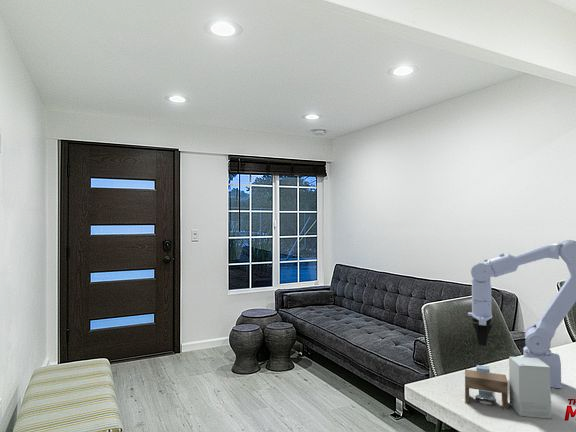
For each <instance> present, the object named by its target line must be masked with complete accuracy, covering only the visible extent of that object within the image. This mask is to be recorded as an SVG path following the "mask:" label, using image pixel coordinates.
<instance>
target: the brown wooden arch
mask: <svg viewBox="0 0 576 432" xmlns="http://www.w3.org/2000/svg"><path fill="white" fill-rule="evenodd" d="M508 386H509V385H508V380H507V375H506V374H503V373H502V374H501V373H496V372H495V373H494V372H490V373H488V372H481V371H477V370H473V369H467V368H465V369H464V399H465V400H464V402H465V403H466V404H470V389H472V390H477V391H479V390H484V391H491V393H499V394H501V404H502V409H503V410H509V402H508V401H509V398H508V397H509V394H508V393H509V389H508V388H509V387H508Z"/></svg>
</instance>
